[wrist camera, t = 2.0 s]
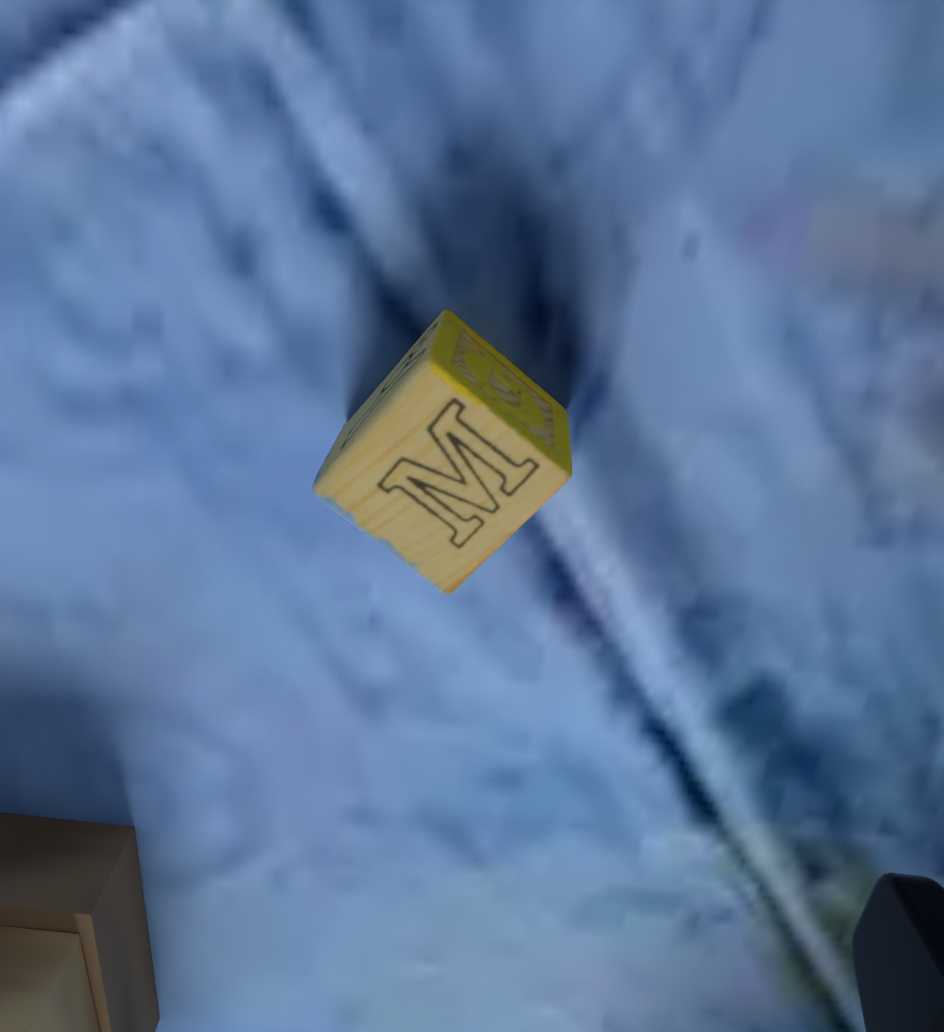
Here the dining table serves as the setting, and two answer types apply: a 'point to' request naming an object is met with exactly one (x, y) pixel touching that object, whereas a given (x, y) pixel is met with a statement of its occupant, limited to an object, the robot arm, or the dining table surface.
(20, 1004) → the oak top slab
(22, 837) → the tan wooden flat block
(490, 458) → the alphabet block
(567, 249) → the dining table surface
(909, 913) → the robot arm
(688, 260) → the dining table surface
